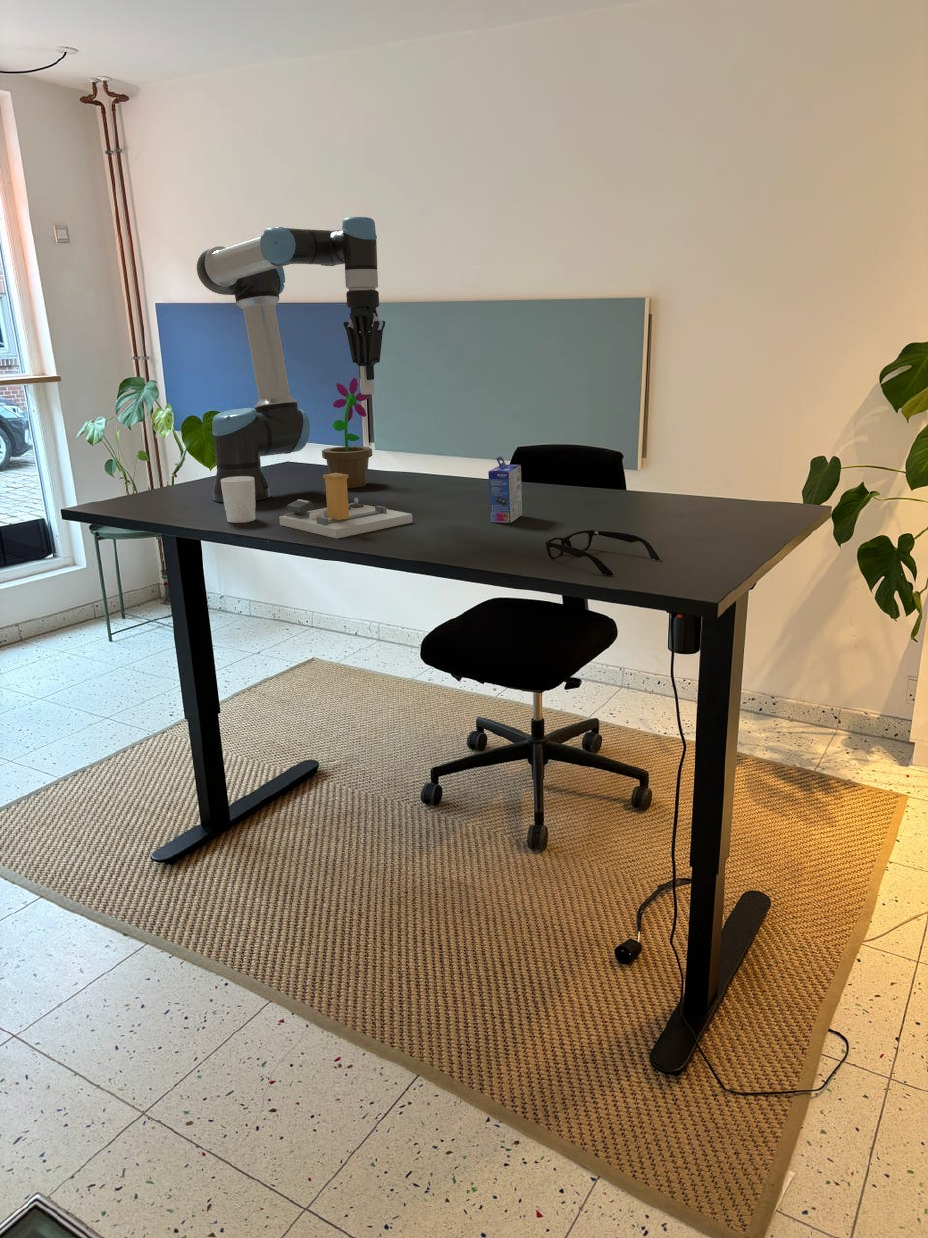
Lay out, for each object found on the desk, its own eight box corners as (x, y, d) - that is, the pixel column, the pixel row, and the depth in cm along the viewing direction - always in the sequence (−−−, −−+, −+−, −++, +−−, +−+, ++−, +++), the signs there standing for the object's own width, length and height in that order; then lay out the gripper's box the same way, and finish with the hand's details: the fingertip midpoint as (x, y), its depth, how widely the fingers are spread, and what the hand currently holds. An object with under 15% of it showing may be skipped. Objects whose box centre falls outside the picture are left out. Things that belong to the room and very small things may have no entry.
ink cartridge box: (500, 514, 222) (500, 454, 217) (522, 515, 220) (522, 454, 215) (488, 522, 213) (487, 459, 208) (511, 523, 211) (510, 460, 206)
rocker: (288, 510, 215) (286, 504, 215) (300, 504, 217) (298, 498, 217) (301, 513, 212) (299, 507, 211) (313, 507, 214) (311, 501, 213)
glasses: (591, 551, 189) (590, 527, 188) (663, 562, 176) (663, 536, 175) (536, 566, 178) (535, 541, 177) (609, 579, 166) (608, 552, 164)
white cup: (264, 518, 223) (261, 477, 220) (244, 524, 216) (240, 482, 213) (238, 515, 226) (234, 475, 223) (217, 522, 220) (213, 480, 216)
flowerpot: (382, 482, 270) (377, 377, 261) (357, 490, 258) (351, 380, 248) (340, 479, 276) (334, 376, 267) (314, 487, 263) (306, 379, 254)
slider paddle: (325, 517, 208) (322, 474, 205) (338, 515, 211) (335, 472, 208) (338, 520, 205) (335, 476, 202) (350, 517, 208) (348, 474, 205)
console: (279, 524, 215) (277, 506, 214) (353, 510, 230) (352, 493, 228) (336, 538, 200) (335, 519, 199) (412, 522, 215) (411, 504, 213)
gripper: (392, 288, 211) (397, 394, 218) (357, 290, 220) (363, 391, 227) (367, 288, 206) (372, 396, 213) (332, 290, 215) (338, 394, 222)
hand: (367, 393), depth 220 cm, fingers closed
